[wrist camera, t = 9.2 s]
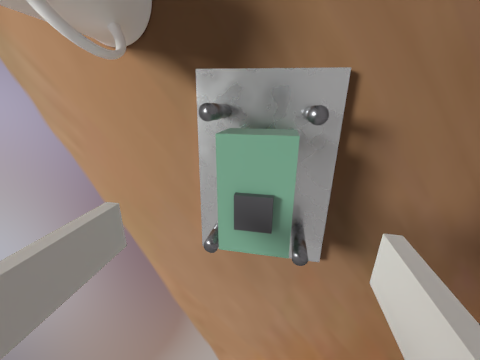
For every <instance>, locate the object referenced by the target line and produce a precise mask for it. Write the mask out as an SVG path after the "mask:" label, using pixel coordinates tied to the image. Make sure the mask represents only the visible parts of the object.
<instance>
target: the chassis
mask: <svg viewBox="0 0 480 360" xmlns="http://www.w3.org/2000/svg"><path fill="white" fill-rule="evenodd" d="M350 72H351V68H242V69H196V91H197V116H198V142H199V167H200V192H201V217H202V243H203V246H204V248H205V250H206V251H208V252H210V253H213V252H215V251H216V250H217V249H218V248H219V238H218V204H217V170H216V136H215V134H216V133H218V132H221V131H223V130H226V129H229V128H252V129H291V130H297V131H298V133H299V136H300V138H299V149H298V160H297V171H296V182H295V193H294V204H293V215H292V226H291V237H290V248H289V258H292V261H293V263H294V264H296V265H299V266H303V265H305V264H306V263H307V262H308V261H314V262H319V260H320V254H321V248H322V242H323V236H324V230H325V224H326V218H327V212H328V206H329V200H330V193H331V187H332V181H333V175H334V169H335V163H336V157H337V151H338V145H339V139H340V133H341V127H342V121H343V114H344V108H345V102H346V96H347V90H348V84H349V78H350Z"/></svg>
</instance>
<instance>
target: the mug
mask: <svg viewBox="0 0 480 360" xmlns="http://www.w3.org/2000/svg"><path fill="white" fill-rule="evenodd" d="M0 5H1V6H4V7H7V8H10V9H13V10H16V11H18V12H21V13H24V14H27V15H30V16H33V17H35V18H38V19H41V20H44V21H47V22H48V23H49V24H50V25H51V26H53V27H54V28H55V29H56V30H57V31H59V32H60V33H61V34H62V35H64V36H65V37H66V38H68V39H69V40H70V41H72V42H73V43H75V44H76V45H78V46H79V47H81V48H83V49H84V50H86V51H88V52H90V53H92V54H94V55H96V56H99V57H101V58H105V59H118V58H120V57H122V56H123V55H124V53H125V51H126V46H128V45H130V44H132V43H134V42H135V41H136V40H138V39H139V38H140V36H141V35H142V34H143V32H144V31H145V29H146V27H147V25H148V22H149V19H150V15H151V8H152V0H0ZM82 34H83V35H86V36H89V37H92V38H94V39H96V40H97V41H99V42H100V43H102V44H104V45H107V46H110V47H116V50H114V51H113V50H108V49H105V48H103V47H101V46H99V45H97V44H95V43H94V42H92V41H90V40H89V39H87V38H86V37H85V36H83V35H82Z"/></svg>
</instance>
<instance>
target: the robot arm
mask: <svg viewBox="0 0 480 360" xmlns="http://www.w3.org/2000/svg"><path fill="white" fill-rule="evenodd" d="M126 246H127V244H126V239H125V234H124V228H123V223H122V218H121V212H120V207H119V203H112V202H105V203H104V204H102V205H100V206H98V207H97V208H95V209H93V210H91V211H89V212H88V213H86V214H84V215H82V216H80V217H79V218H77V219H75V220H73V221H71V222H70V223H68V224H66V225H64V226H63V227H61V228H59V229H57V230H55V231H54V232H52V233H50V234H48V235H46V236H45V237H43V238H41V239H39V240H37V241H36V242H34V243H32V244H30V245H28V246H27V247H25V248H23V249H21V250H19V251H18V252H16V253H14V254H12V255H11V256H9V257H7V258H5V259H3V260H2V261H0V360H1V359H2V358H3V357H4V356H5V355H6V354H8V353H9V352H10V351H11V350H12V349H13V348H14V347H15V346H16V345H17V344H18V343H20V342H21V341H22V340H23V339H24V338H25V337H26V336H27V335H29V334H30V333H31V332H32V331H33V330H34V329H35V328H36V327H37V326H39V325H40V324H41V323H42V322H43V321H44V320H45V319H46V318H47V317H48V316H50V315H51V314H52V313H53V312H54V311H55V310H56V309H57V308H58V307H60V306H61V305H62V304H63V303H64V302H65V301H66V300H67V299H68V298H70V297H71V296H72V295H73V294H74V293H75V292H76V291H77V290H78V289H79V288H81V287H82V286H83V285H84V284H85V283H86V282H87V281H88V280H89V279H91V278H92V276H94V275H95V274H96V273H97V272H98V271H99V270H101V269H102V268H103V267H104V266H105V265H106V264H107V263H108V262H109V261H111V260H112V259H113V258H114V257H115V256H116V255H117V254H118V253H119V252H121V251H122V250H123V249H124V248H125V247H126ZM370 285H371V287H372V289H373V291H374V293H375V296H376V298H377V300H378V302H379V304H380V307H381V309H382V311H383V313H384V315H385V317H386V320H387V322H388V324H389V326H390V328H391V331H392V333H393V335H394V337H395V339H396V341H397V344H398V346H399V348H400V350H401V352H402V355H403V357H404V359H405V360H480V324H478V322H477V321H476V320H475V319H474V318H473V317H472V315H471V314H470V313H469V312H468V311H467V310H466V308H465V307H464V306H463V305H462V304H461V303H460V302H459V300H458V299H457V298H456V297H455V296H454V295H453V293H452V292H451V291H450V290H449V289H448V288H447V286H446V285H445V284H444V283H443V282H442V281H441V280H440V278H439V277H438V276H437V275H436V274H435V273H434V271H433V270H432V269H431V268H430V267H429V266H428V264H427V263H426V262H425V261H424V260H423V259H422V258H421V256H420V255H419V254H418V253H417V252H416V251H415V249H414V248H413V247H412V246H411V245H410V244H409V242H408V241H407V240H406V239H405V238H404V237H403V236H401V235H392V234H383V236H382V240H381V243H380V247H379V251H378V254H377V258H376V261H375V265H374V269H373V272H372V276H371V280H370Z"/></svg>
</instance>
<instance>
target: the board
mask: <svg viewBox="0 0 480 360" xmlns="http://www.w3.org/2000/svg"><path fill="white" fill-rule="evenodd" d="M215 136H216V170H217V204H218V238H219V249H221V250H229V251H237V252H244V253H252V254H260V255H267V256H275V257H283V258H289V248H290V237H291V226H292V215H293V204H294V193H295V182H296V171H297V160H298V149H299V138H300V136H299V133H298V131H297V130H291V129H252V128H229V129H226V130H223V131H221V132H218V133H216V134H215Z"/></svg>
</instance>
